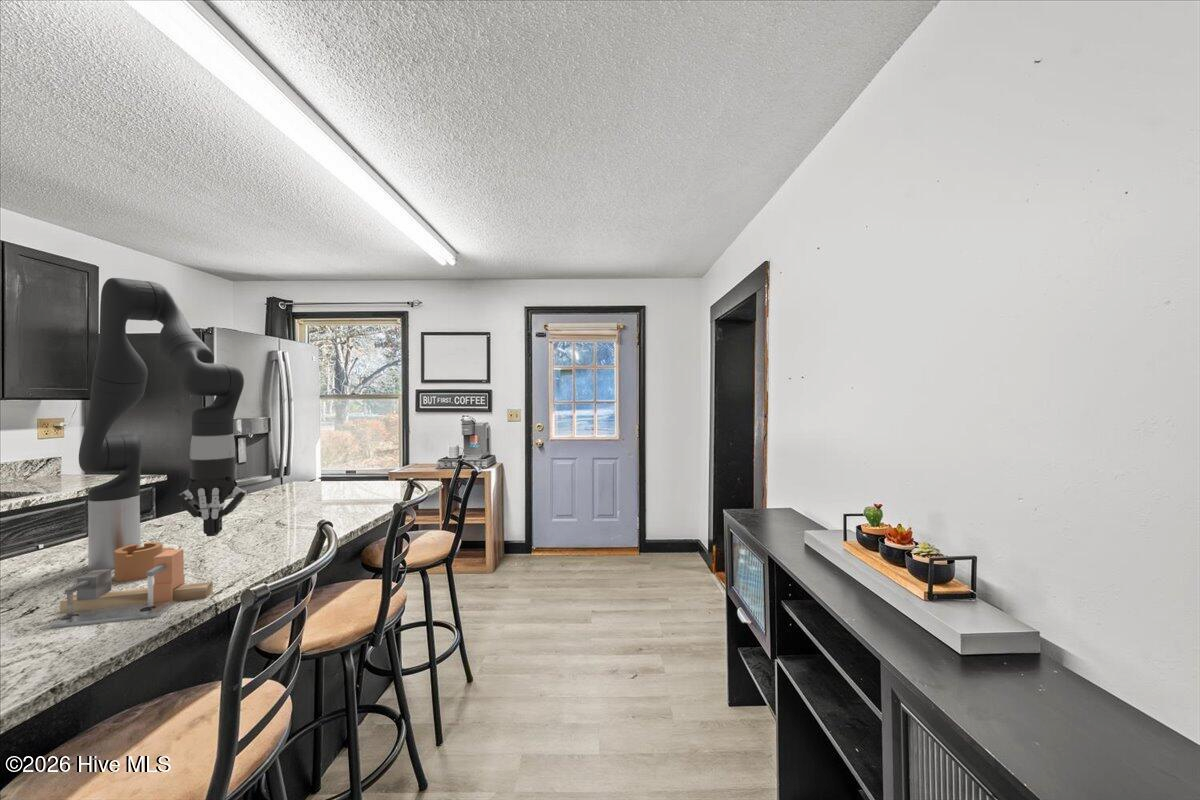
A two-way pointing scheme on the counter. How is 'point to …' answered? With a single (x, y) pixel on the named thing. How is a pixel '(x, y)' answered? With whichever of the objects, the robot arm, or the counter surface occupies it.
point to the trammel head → (165, 576)
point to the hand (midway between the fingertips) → (212, 535)
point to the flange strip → (113, 614)
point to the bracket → (136, 560)
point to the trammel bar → (119, 593)
